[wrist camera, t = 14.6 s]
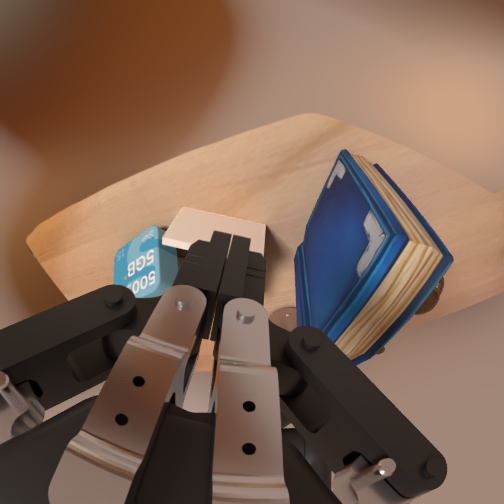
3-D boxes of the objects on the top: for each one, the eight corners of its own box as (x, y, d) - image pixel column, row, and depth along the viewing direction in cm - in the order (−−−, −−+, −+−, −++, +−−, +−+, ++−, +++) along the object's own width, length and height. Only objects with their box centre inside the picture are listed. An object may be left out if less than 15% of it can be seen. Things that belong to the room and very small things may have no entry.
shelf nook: (248, 288, 56) (243, 327, 48) (176, 272, 55) (160, 308, 47) (265, 224, 48) (263, 259, 40) (182, 206, 48) (162, 237, 39)
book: (323, 272, 53) (343, 394, 32) (287, 260, 52) (291, 385, 31) (380, 164, 41) (464, 254, 20) (340, 146, 40) (405, 225, 19)
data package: (157, 221, 47) (160, 287, 41) (175, 232, 50) (181, 295, 44) (114, 252, 51) (113, 312, 45) (132, 260, 55) (133, 318, 48)
